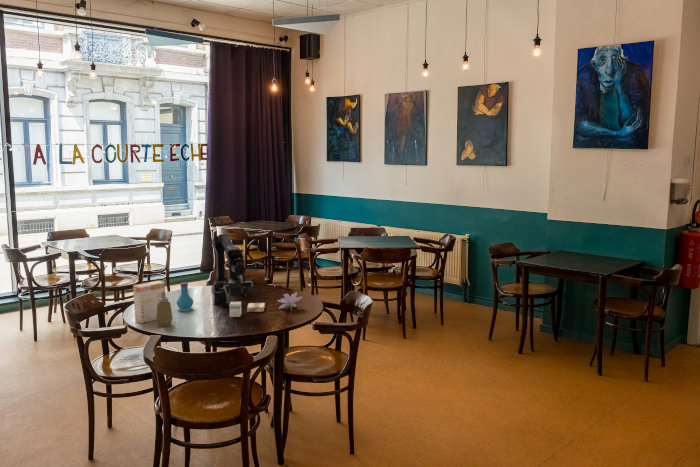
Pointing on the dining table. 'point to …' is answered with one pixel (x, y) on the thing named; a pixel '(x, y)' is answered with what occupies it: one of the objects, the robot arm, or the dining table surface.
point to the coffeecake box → (147, 300)
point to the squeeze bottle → (164, 311)
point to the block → (255, 307)
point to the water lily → (289, 300)
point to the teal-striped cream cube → (235, 309)
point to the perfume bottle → (184, 298)
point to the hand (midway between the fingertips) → (235, 300)
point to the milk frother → (237, 290)
